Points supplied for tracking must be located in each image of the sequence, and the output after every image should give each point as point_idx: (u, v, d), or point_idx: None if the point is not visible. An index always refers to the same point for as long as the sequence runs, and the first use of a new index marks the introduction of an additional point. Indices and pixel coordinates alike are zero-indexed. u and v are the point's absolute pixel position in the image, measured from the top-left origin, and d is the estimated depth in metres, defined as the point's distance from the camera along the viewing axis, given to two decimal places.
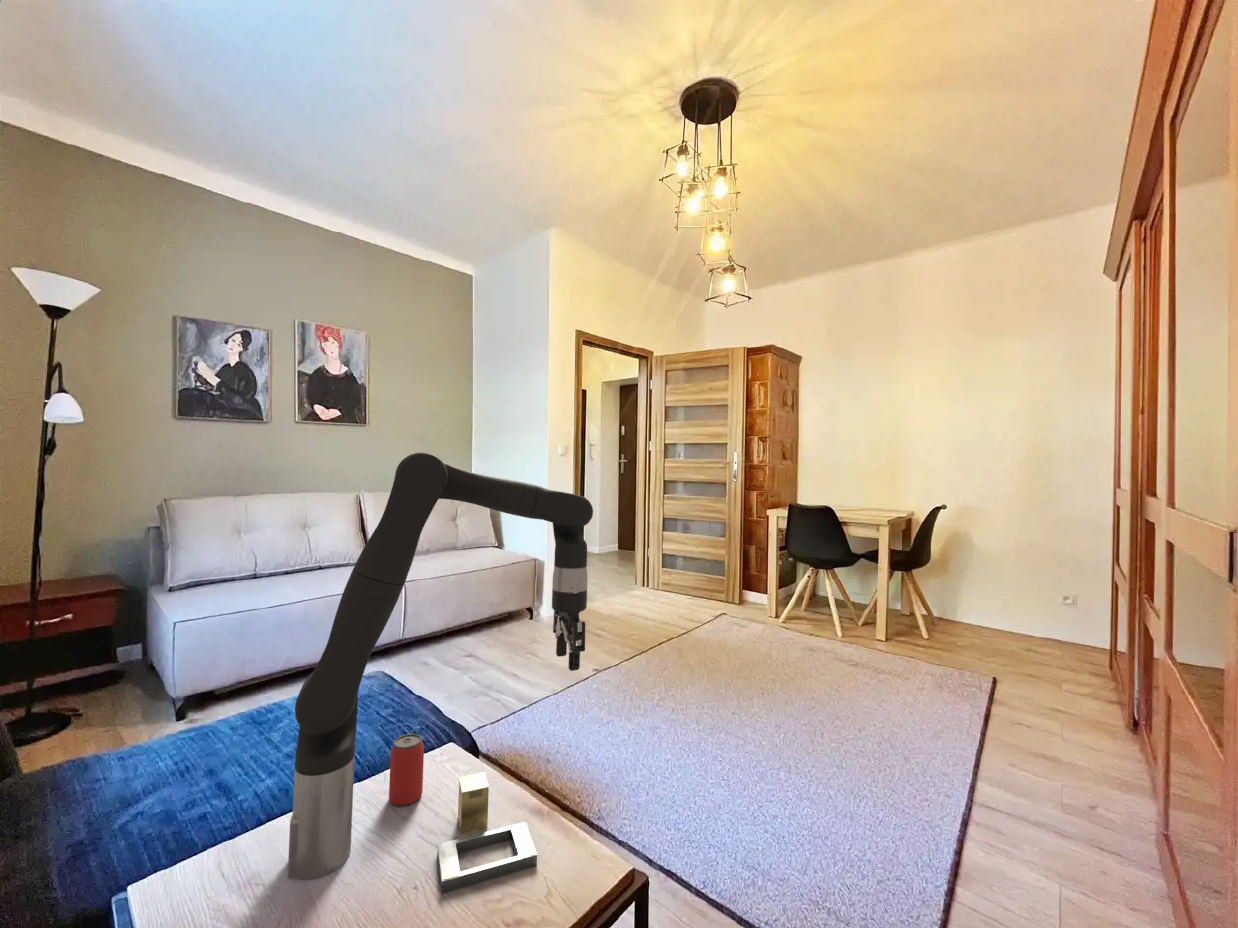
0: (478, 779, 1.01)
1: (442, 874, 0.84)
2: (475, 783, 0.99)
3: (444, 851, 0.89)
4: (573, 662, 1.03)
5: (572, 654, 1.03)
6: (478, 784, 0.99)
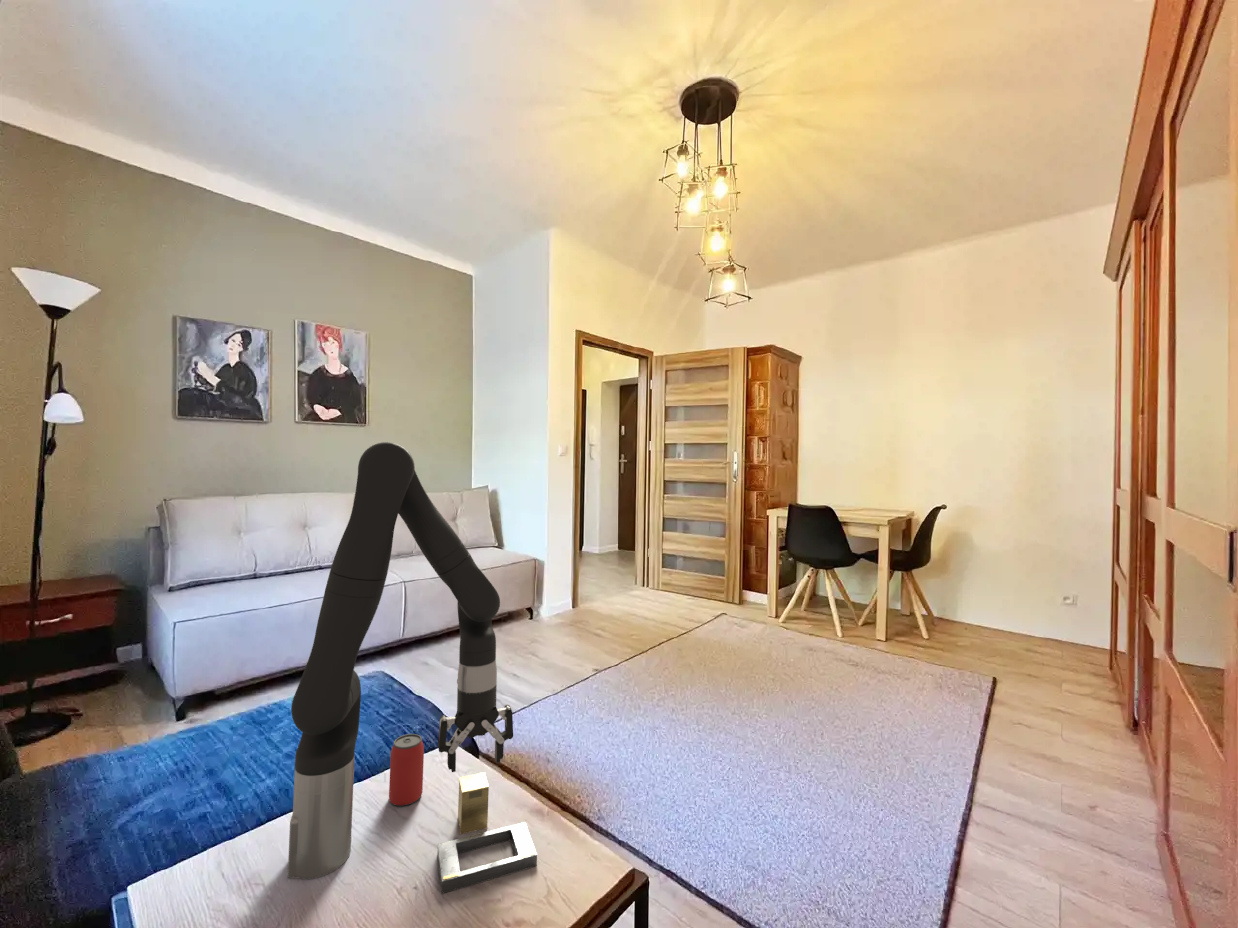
0: (478, 779, 1.01)
1: (442, 874, 0.84)
2: (475, 783, 0.99)
3: (444, 851, 0.89)
4: (502, 751, 1.02)
5: (501, 744, 1.01)
6: (478, 784, 0.99)
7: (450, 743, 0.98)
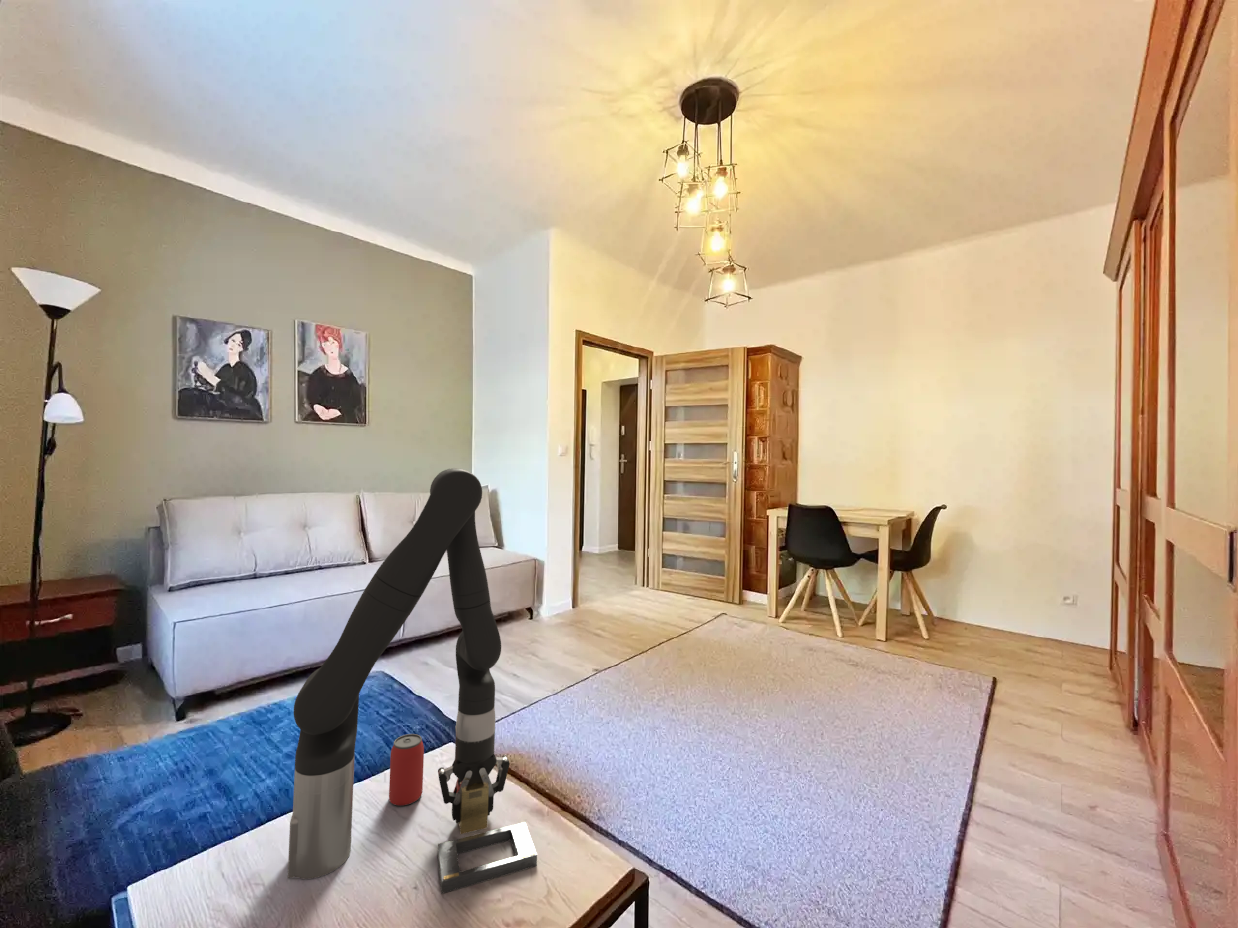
0: None
1: (442, 874, 0.84)
2: (475, 783, 1.00)
3: (444, 851, 0.89)
4: (492, 803, 1.01)
5: (491, 796, 1.01)
6: (478, 784, 0.99)
7: (454, 794, 0.99)
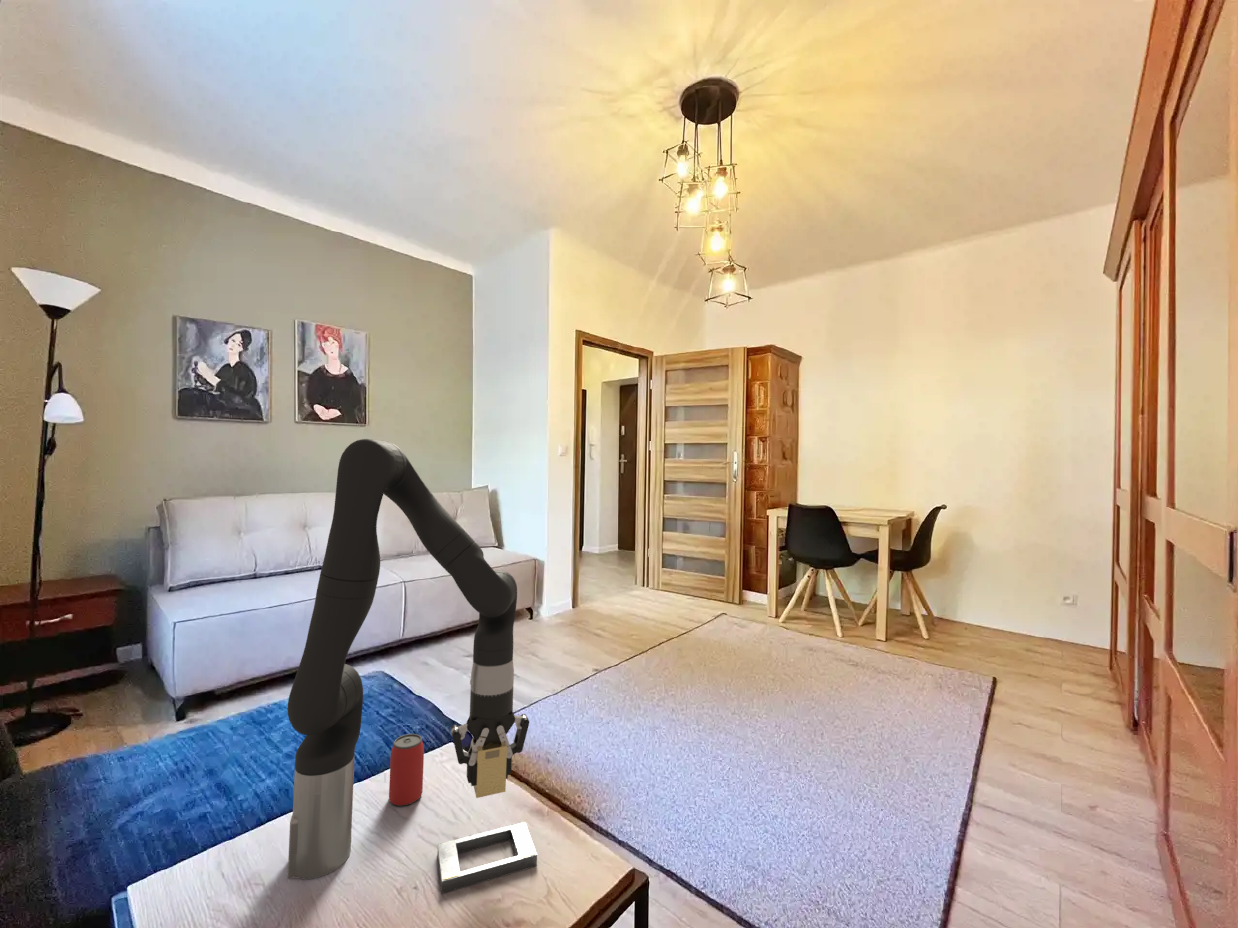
0: None
1: (442, 874, 0.84)
2: (492, 743, 0.90)
3: (444, 851, 0.89)
4: (510, 766, 0.92)
5: (509, 758, 0.91)
6: (496, 744, 0.90)
7: (469, 754, 0.89)
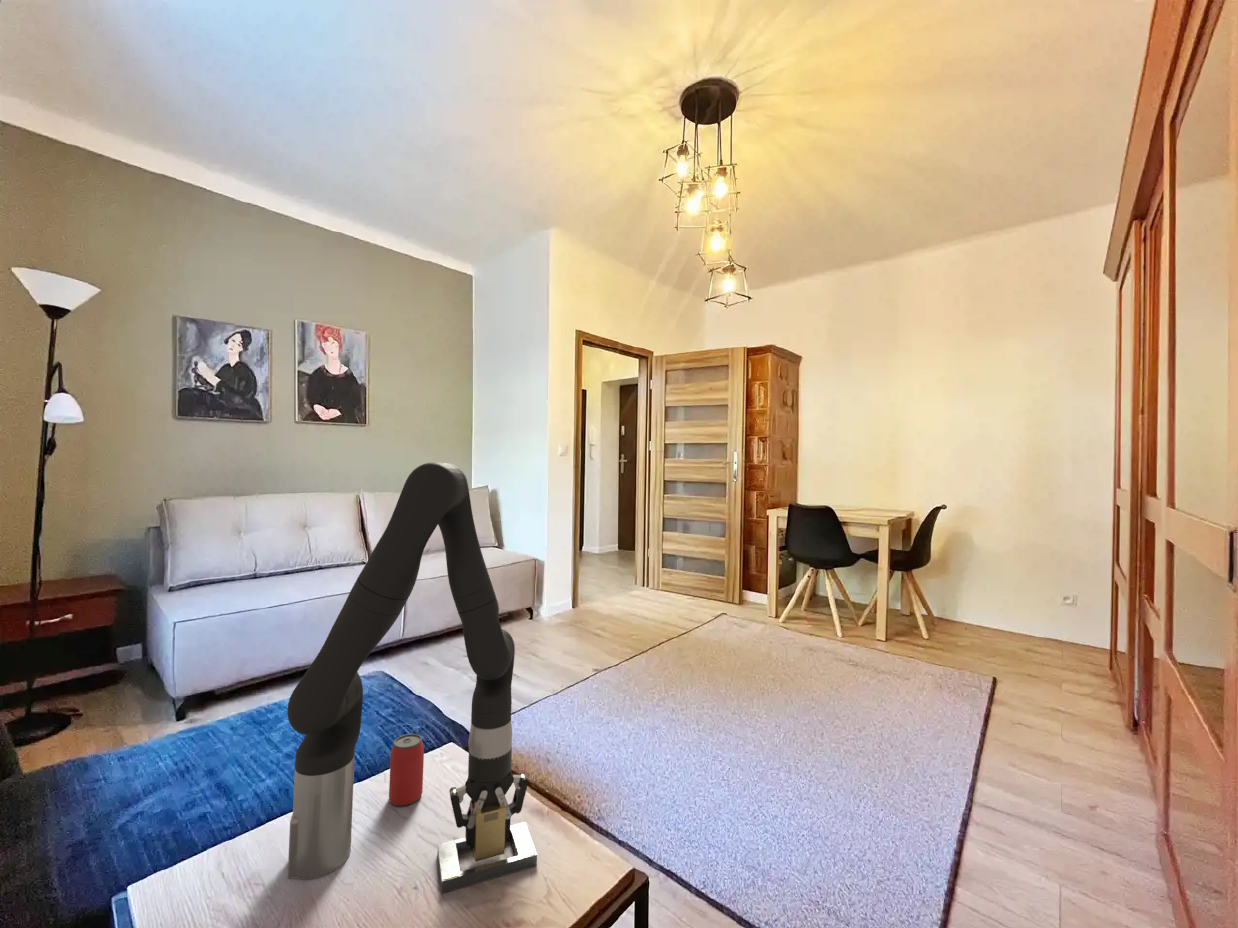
0: None
1: (442, 874, 0.84)
2: (490, 804, 0.90)
3: (444, 851, 0.89)
4: (509, 826, 0.91)
5: (508, 819, 0.91)
6: (494, 806, 0.89)
7: (467, 816, 0.89)
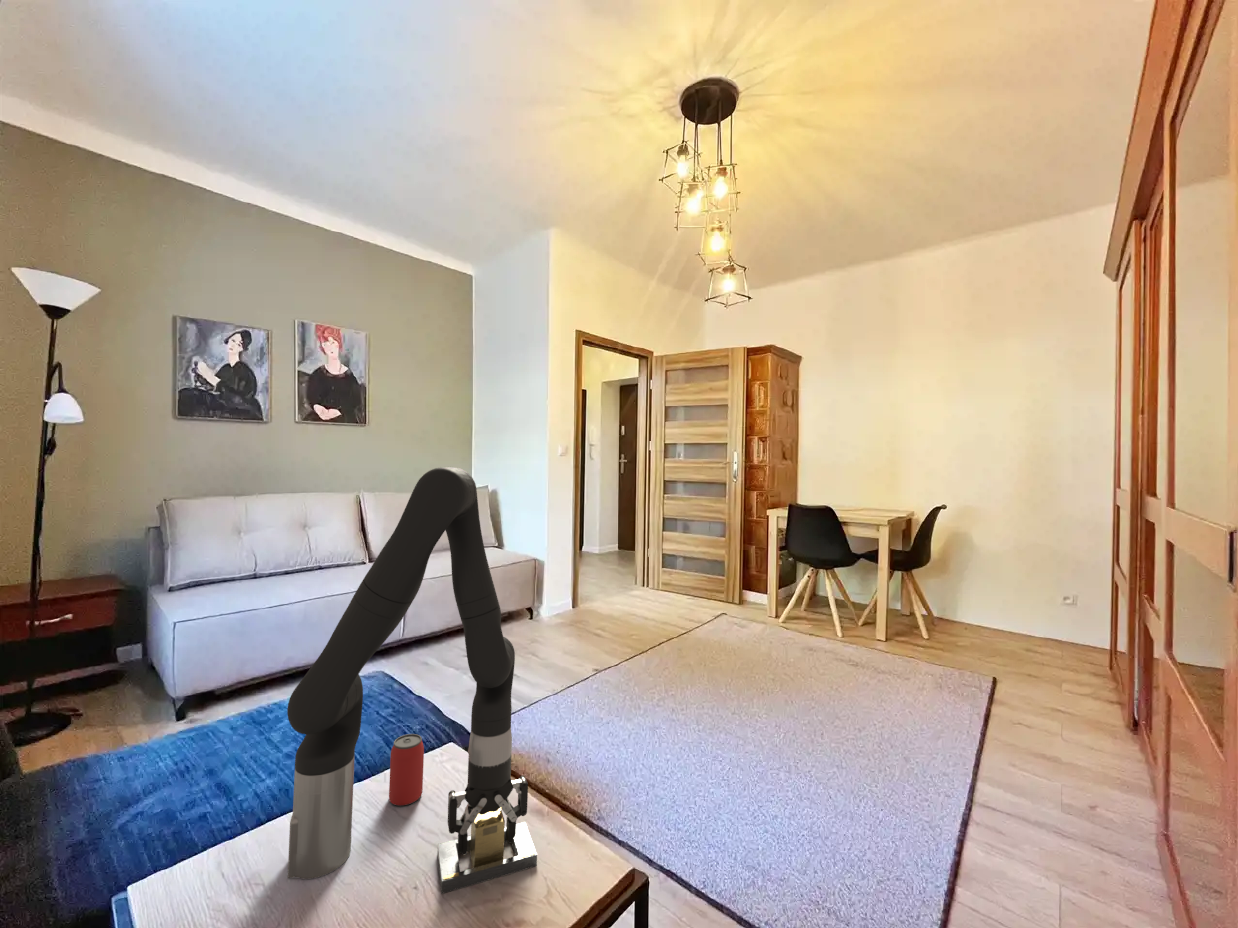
0: (493, 812, 0.91)
1: (442, 874, 0.84)
2: (489, 817, 0.90)
3: (444, 851, 0.89)
4: None
5: None
6: (493, 819, 0.89)
7: (461, 821, 0.89)
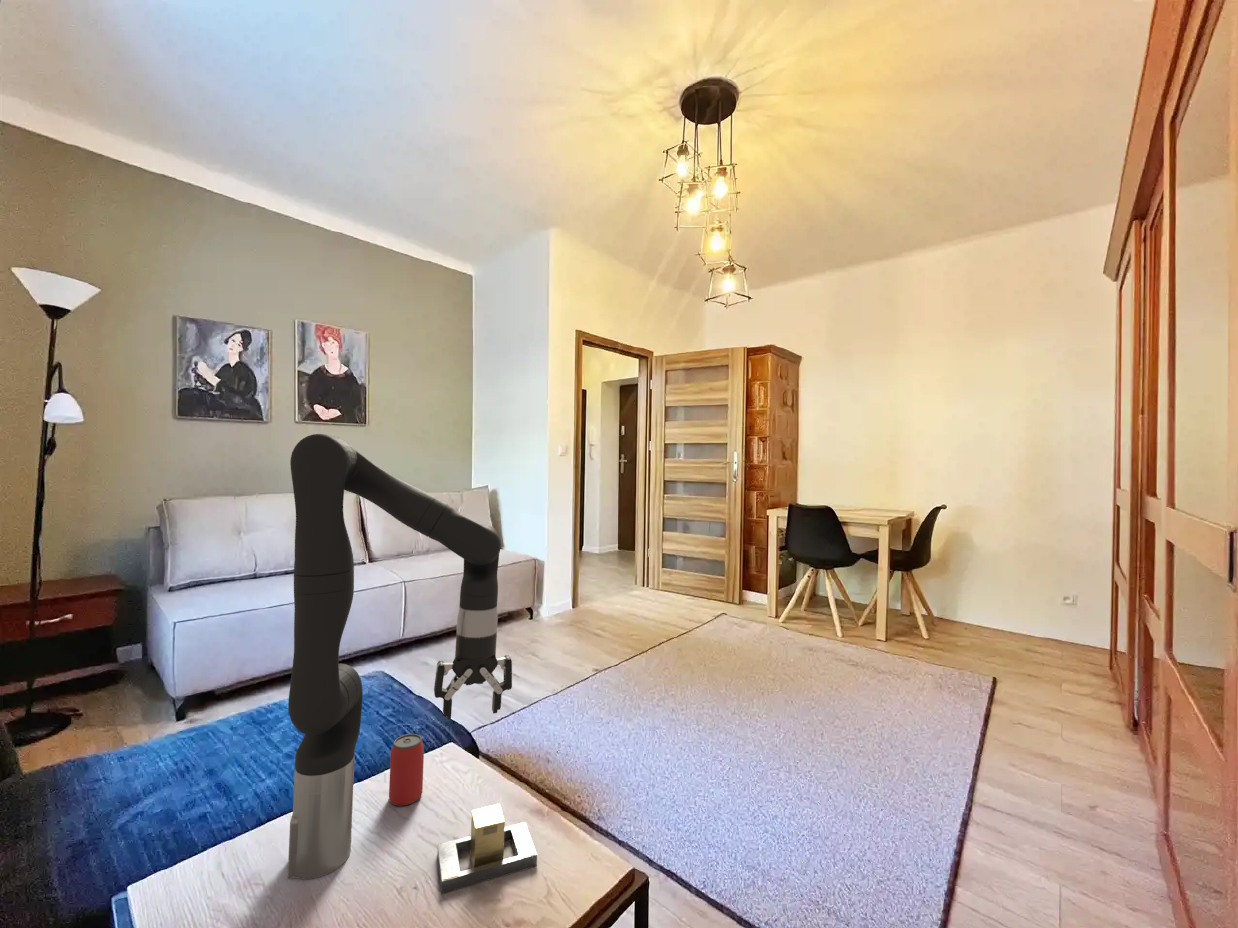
0: (493, 812, 0.91)
1: (442, 874, 0.84)
2: (489, 817, 0.90)
3: (444, 851, 0.89)
4: (500, 702, 0.98)
5: (499, 694, 0.98)
6: (493, 819, 0.89)
7: (446, 690, 0.95)
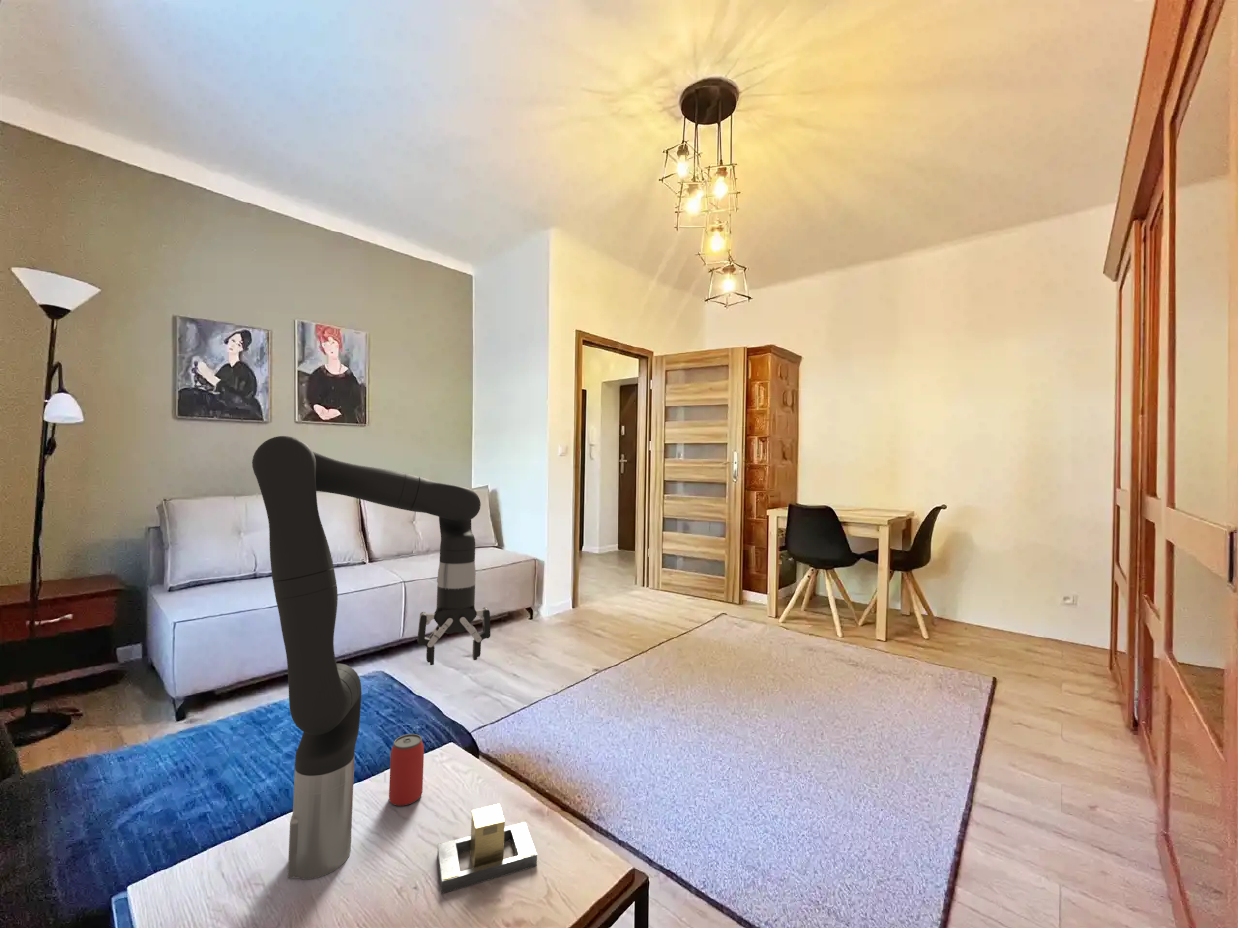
0: (493, 812, 0.91)
1: (442, 874, 0.84)
2: (489, 817, 0.90)
3: (444, 851, 0.89)
4: (480, 650, 1.06)
5: (479, 643, 1.06)
6: (493, 819, 0.89)
7: (429, 638, 1.03)
